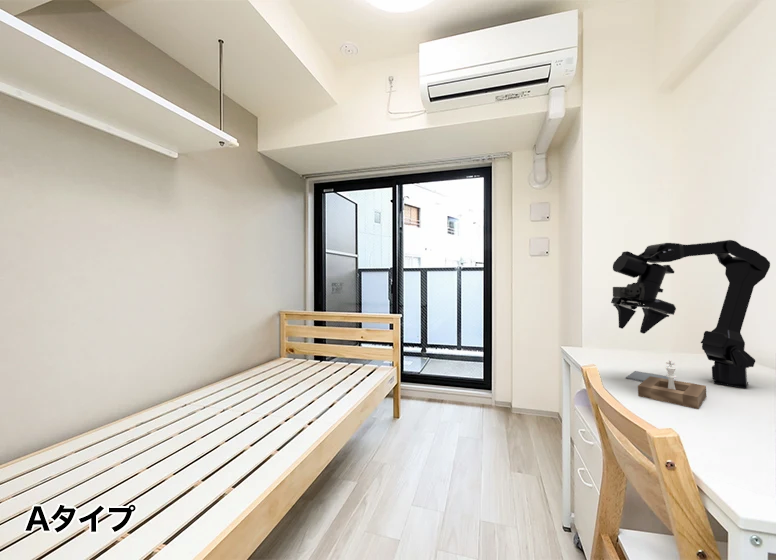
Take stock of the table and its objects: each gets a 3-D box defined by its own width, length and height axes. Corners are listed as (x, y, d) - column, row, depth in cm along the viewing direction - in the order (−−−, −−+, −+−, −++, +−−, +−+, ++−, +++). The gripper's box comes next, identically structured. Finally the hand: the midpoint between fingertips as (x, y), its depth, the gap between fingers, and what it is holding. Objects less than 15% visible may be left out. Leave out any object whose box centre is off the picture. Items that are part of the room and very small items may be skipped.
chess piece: (679, 401, 82) (677, 363, 82) (656, 395, 87) (655, 360, 87) (687, 397, 84) (685, 361, 84) (665, 392, 89) (663, 357, 89)
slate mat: (673, 378, 99) (673, 377, 99) (665, 386, 93) (665, 384, 93) (635, 372, 107) (635, 370, 107) (625, 378, 101) (625, 377, 101)
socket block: (706, 396, 84) (706, 385, 84) (698, 409, 77) (697, 397, 77) (650, 386, 94) (649, 376, 94) (638, 396, 87) (637, 385, 87)
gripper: (603, 274, 104) (587, 317, 105) (646, 273, 86) (626, 326, 86) (636, 285, 103) (620, 329, 104) (686, 286, 85) (666, 339, 85)
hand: (630, 330), depth 95 cm, fingers open, 9 cm apart
